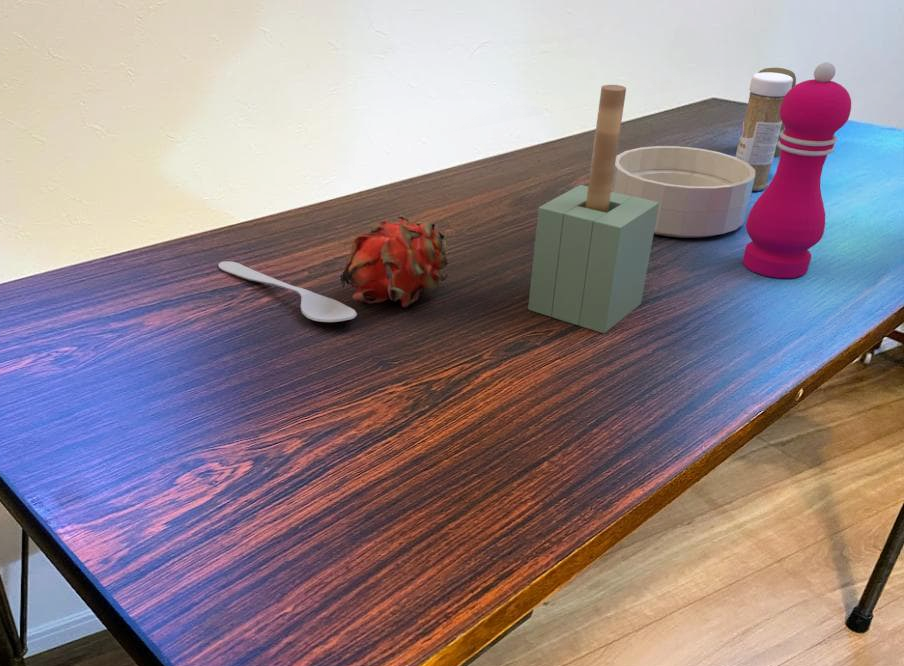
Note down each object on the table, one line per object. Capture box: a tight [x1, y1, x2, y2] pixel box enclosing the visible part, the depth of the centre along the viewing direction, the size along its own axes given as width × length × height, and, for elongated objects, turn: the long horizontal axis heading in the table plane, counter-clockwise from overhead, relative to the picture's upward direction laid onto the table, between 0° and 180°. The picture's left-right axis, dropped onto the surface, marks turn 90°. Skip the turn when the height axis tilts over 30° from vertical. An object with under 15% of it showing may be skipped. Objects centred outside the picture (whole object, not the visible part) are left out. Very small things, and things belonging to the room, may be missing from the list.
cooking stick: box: [585, 84, 627, 213], centre depth 80 cm, size 2×2×20 cm
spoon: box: [218, 261, 358, 323], centre depth 87 cm, size 4×21×2 cm, turn 42°
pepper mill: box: [742, 62, 852, 279], centre depth 88 cm, size 7×7×20 cm
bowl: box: [611, 145, 755, 239], centre depth 104 cm, size 15×15×6 cm
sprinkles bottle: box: [735, 72, 793, 192], centre depth 111 cm, size 5×5×13 cm
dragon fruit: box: [339, 214, 449, 308], centre depth 85 cm, size 8×8×12 cm
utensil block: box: [527, 184, 659, 334], centre depth 82 cm, size 8×8×10 cm
